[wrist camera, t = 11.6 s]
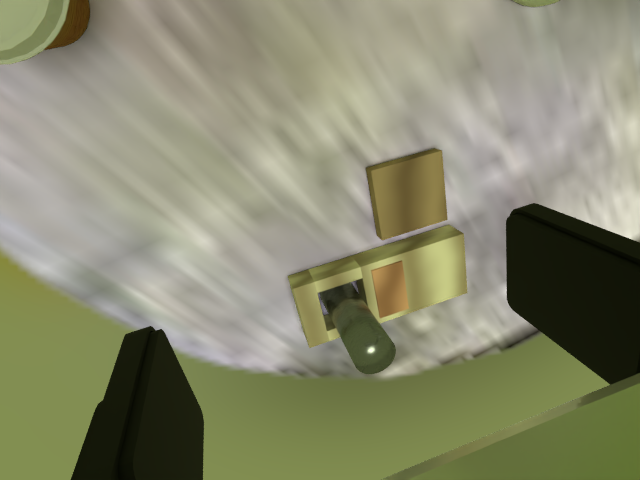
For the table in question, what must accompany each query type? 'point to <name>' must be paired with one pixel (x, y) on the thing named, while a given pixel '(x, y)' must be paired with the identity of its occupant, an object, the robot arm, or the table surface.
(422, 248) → the block with square hole
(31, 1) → the disposable coffee cup
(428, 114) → the table surface
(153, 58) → the table surface
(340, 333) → the peg
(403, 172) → the tab
